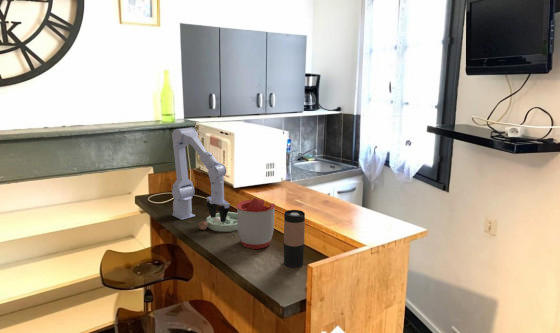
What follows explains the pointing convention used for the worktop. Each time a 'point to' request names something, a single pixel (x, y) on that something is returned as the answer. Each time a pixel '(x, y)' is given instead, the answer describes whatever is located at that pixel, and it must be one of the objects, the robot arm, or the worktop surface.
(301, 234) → the travel mug
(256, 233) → the citrus juicer
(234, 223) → the tray
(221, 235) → the worktop surface
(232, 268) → the worktop surface
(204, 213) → the worktop surface
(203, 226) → the terracotta bead
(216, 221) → the ivory bead
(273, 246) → the worktop surface
